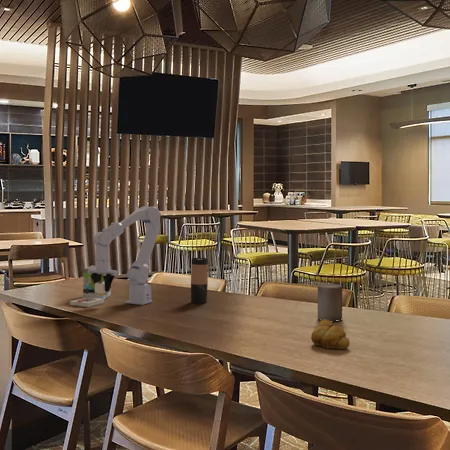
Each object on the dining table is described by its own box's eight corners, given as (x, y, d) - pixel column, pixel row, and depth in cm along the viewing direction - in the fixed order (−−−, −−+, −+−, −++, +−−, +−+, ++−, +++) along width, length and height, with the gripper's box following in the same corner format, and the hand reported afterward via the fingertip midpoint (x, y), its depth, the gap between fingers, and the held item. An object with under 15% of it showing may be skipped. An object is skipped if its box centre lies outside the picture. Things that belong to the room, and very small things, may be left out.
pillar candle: (343, 318, 226) (343, 280, 225) (341, 323, 217) (341, 284, 216) (318, 316, 229) (318, 280, 228) (315, 321, 219) (316, 283, 219)
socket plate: (104, 303, 252) (104, 297, 252) (88, 307, 242) (88, 301, 242) (86, 301, 257) (86, 295, 257) (69, 305, 247) (69, 299, 247)
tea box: (104, 300, 259) (104, 268, 259) (82, 300, 260) (82, 268, 259) (111, 295, 274) (111, 264, 274) (90, 294, 275) (90, 264, 274)
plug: (110, 294, 246) (110, 280, 246) (103, 296, 241) (103, 282, 241) (102, 293, 248) (101, 279, 248) (94, 295, 243) (94, 281, 243)
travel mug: (208, 301, 261) (209, 257, 260) (206, 304, 253) (207, 259, 252) (191, 300, 262) (192, 257, 261) (189, 303, 254) (190, 259, 253)
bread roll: (355, 348, 180) (356, 323, 180) (335, 353, 174) (335, 327, 174) (325, 340, 190) (325, 317, 190) (305, 344, 184) (305, 320, 184)
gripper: (83, 259, 243) (83, 291, 244) (110, 261, 237) (110, 293, 238) (93, 258, 250) (93, 288, 250) (120, 259, 244) (120, 291, 244)
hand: (102, 291), depth 245 cm, fingers closed on plug, 4 cm apart
